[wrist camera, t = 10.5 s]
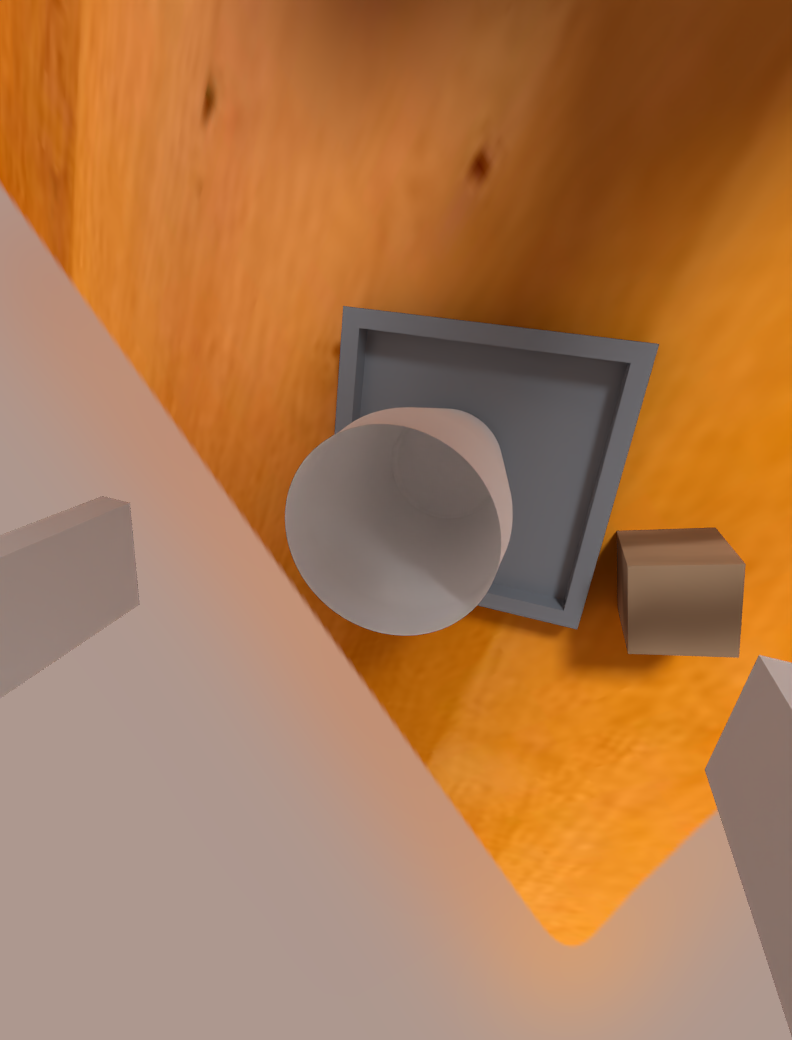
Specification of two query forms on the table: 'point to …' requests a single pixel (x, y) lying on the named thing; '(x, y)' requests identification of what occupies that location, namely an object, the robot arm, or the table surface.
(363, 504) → the cup
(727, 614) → the walnut cube
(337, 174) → the table surface
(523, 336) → the tray
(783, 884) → the robot arm
